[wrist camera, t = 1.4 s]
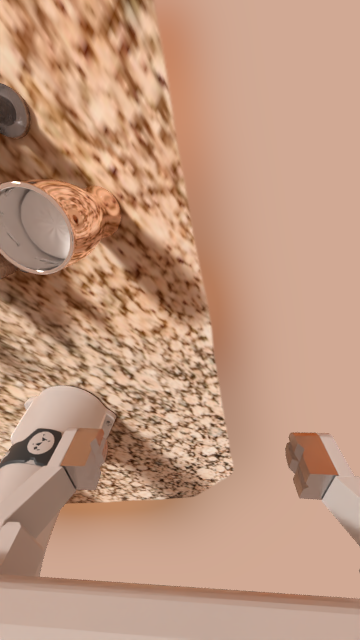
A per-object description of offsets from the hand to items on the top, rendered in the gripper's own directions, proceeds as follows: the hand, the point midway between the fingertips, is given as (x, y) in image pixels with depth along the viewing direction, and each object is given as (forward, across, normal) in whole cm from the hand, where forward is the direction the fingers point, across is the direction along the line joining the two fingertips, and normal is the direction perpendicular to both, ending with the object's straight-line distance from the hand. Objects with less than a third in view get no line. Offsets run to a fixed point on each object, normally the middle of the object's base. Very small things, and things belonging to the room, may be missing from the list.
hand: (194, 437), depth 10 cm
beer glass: (+26, +12, -7) cm, 30 cm away
